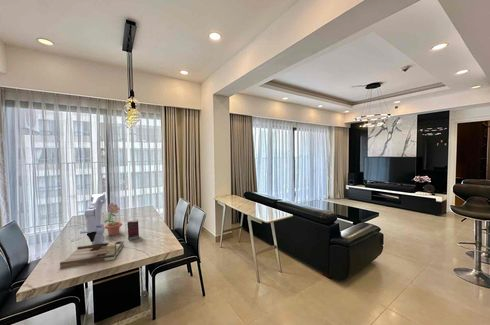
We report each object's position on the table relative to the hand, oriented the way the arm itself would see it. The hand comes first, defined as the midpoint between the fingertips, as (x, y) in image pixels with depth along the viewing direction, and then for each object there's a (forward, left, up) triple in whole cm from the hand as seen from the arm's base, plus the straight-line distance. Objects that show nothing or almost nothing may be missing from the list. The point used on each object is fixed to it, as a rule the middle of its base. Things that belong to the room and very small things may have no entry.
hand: (92, 241), depth 152 cm
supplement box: (-20, +24, -10) cm, 33 cm away
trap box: (+4, +3, -9) cm, 11 cm away
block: (+4, +14, -7) cm, 17 cm away
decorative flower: (-37, +3, -10) cm, 38 cm away
